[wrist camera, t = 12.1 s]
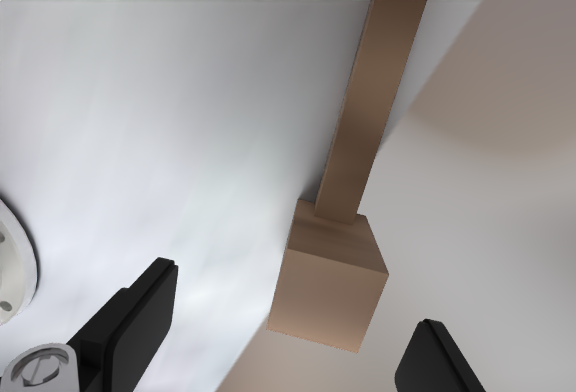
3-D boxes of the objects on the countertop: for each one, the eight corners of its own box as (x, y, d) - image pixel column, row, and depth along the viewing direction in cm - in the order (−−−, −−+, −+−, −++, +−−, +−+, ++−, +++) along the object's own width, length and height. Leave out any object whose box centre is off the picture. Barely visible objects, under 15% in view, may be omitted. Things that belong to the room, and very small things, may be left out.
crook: (345, 273, 18) (357, 353, 12) (205, 237, 18) (154, 299, 13) (571, -382, 10) (925, -1066, 4) (306, -433, 10) (288, -1146, 4)
